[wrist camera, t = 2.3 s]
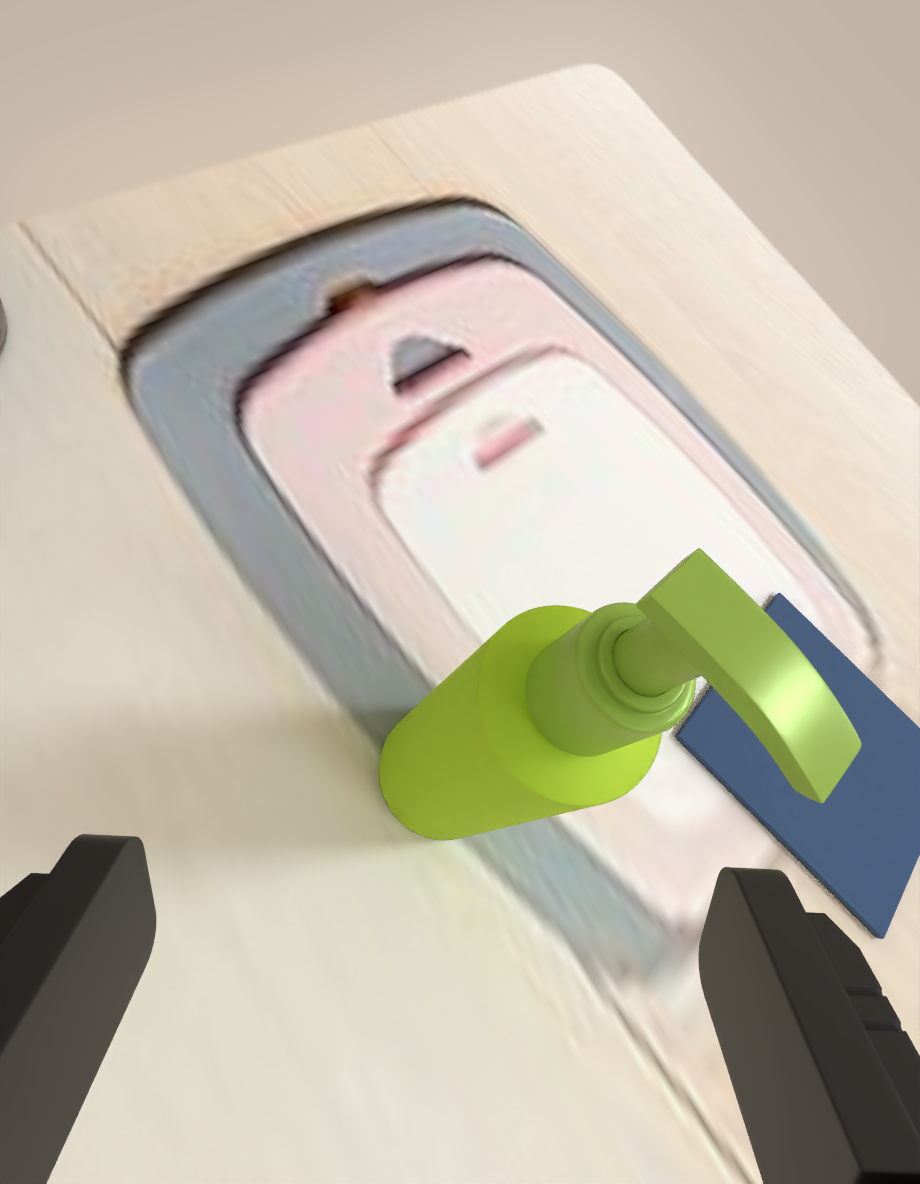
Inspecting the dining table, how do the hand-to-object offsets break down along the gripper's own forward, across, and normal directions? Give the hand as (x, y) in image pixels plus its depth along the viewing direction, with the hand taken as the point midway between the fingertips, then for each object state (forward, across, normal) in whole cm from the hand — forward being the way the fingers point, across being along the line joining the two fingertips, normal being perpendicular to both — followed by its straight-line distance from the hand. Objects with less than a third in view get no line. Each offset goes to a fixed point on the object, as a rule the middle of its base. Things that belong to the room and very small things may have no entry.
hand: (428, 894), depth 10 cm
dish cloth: (+24, -21, +15) cm, 35 cm away
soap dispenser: (+18, 0, +13) cm, 22 cm away
